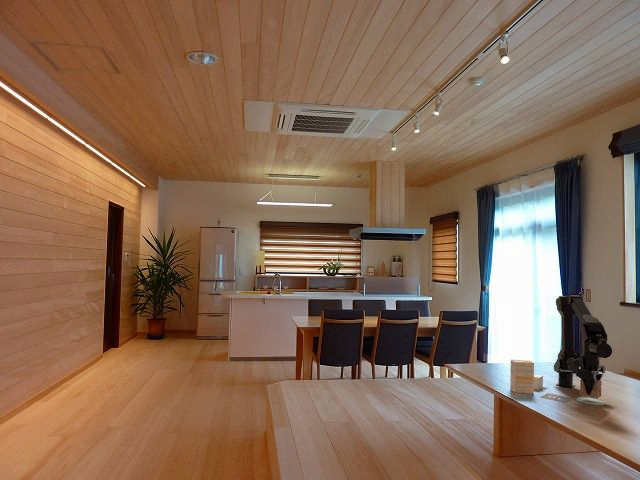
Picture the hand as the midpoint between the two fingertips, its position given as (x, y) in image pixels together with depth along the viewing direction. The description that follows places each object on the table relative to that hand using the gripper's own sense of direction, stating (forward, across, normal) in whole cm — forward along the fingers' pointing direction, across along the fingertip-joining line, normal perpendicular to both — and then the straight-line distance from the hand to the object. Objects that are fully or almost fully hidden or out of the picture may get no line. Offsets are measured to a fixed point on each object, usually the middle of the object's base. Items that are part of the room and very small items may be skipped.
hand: (590, 393), depth 191 cm
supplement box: (+4, +9, -23) cm, 25 cm away
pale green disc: (+4, 0, 0) cm, 4 cm away
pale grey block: (+3, -3, -22) cm, 23 cm away
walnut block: (+1, 0, 0) cm, 1 cm away
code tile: (+4, +7, -10) cm, 13 cm away
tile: (+4, -3, -22) cm, 23 cm away
